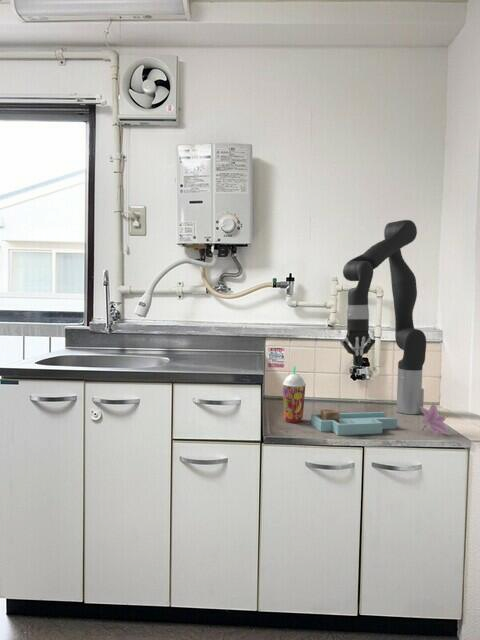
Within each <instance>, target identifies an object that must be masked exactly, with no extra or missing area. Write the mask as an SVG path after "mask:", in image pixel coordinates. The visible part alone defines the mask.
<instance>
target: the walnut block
mask: <svg viewBox="0 0 480 640" xmlns="http://www.w3.org/2000/svg"><path fill="white" fill-rule="evenodd" d="M339 413H340V412H339V411H338V410H336V409H331V408H330V409H320V414H321V415H320V419H321V420H323V421H326V420H334V421H336V422H337V423H339Z"/></svg>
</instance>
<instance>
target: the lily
mask: <svg viewBox="0 0 480 640" xmlns="http://www.w3.org/2000/svg"><path fill="white" fill-rule="evenodd" d="M420 408H421V410H422V412H423V413H422V414H423V415H424V416H423V417H422V419H421V420H420V424H422V425H424V427H423V428H422V431H424V430H425V428H426V427H427V426H428V427H430V430H431V432H432V436H433V438H436V436H437V434H438V431H440V432H442V433H443V434H445V435H447V436H450V435H451V434H450V432H449V430H448V428H447V426H446V425H445V423H444V422H445V421H446V419H447V418H446V417H445V416H443V415H441V414H439V410H438V407H437V405H436V404H435V402H434V401H432V403H431V405H430V407H429V409H427V408H425V407H424V406H423V407H421V406H420Z"/></svg>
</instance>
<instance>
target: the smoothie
mask: <svg viewBox="0 0 480 640" xmlns="http://www.w3.org/2000/svg"><path fill="white" fill-rule="evenodd" d="M305 382H306V381H305V380H304V379H303V377H302V376H300V375H299V374H297V373H296V366H295V365H294V366H293V373H291V374H289V375H287V376H286V377H285V378H284V381H283V382H282V401H283V418H284V421H285V422H286V423H292V424H297V423H301V422H302V420H303V419H304V418H303V417H304V409H305V407H304V406H305V398H306V397H305V394H306V385H307V384H306V383H305Z"/></svg>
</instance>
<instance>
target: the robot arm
mask: <svg viewBox="0 0 480 640" xmlns="http://www.w3.org/2000/svg"><path fill="white" fill-rule="evenodd" d="M383 233H384V234H383V235H384V239H383V240H381V241H379V242H377V243H375V244H374V245H372V246H370V247H369V248H368V249H367V250H366V251H365V252H363V253H362V254H360V255H358V256H356V257H354V258H352V259H350V260H348V261H347V262H346V263H345V265H344V267H343V269H342V274H343V278H345V280H346V281H349V282H357V285H356V286H355V287H352V288H349V290H348V291H347V292H348V293H347V310H346V316H347V317H346V323H347V324H346V331H347V333H346V336H345V338H344V339H341V340H340V344H341V345H342V346H343V348H344V349H345V350H346V351H347V353H348V354H349V355H352V357H353V359H352V360H353V365H354V366H355V367H361V366H362V365H363V357H364V355H365V354H369V353H368V352H369V351H370V350H371V349H372V347H373V346H374V345H375V343H376V340H375V339H373V338H372V337H371V336H370V333H369V330H370V329H369V327H370V326H369V325H370V323H369V322H370V320H369V319H370V313H369V312H370V311H369V292H370V289H371V283H372V282H373V281H372V280H373V277H374V270H376V268H378V267H379V266H380V265H381V264H382V263H383V262H385V260H387V259H388V262H389V270H390V272H389V273H390V280H391V281H390V283H391V291H392V298H393V309H394V321H395V323H394V324H395V325H394V326H395V328H394V329H395V330H394V331H395V333H394V335H395V336H394V337H395V344H396V345H397V347H398V348H399V349H400V350H403V357H402V358H401V359H400V360H399V361H398V362H397V384H396V385H397V387H396V406H395V407H396V413H397V412H398V413H400V414H405V415H419V414H424V413H423V412H422V410H421V408H420V406H421V407H423V408H424V396H425V389H424V388H422V387H423V369H424V368H423V366H424V364H425V362H426V352H427V337H426V334H425V333H424V331H422V330H421V329H418V328H415V326H414V315H413V314H414V309H415V305H416V302H417V297H418V290H417V289H418V287H417V280H416V279H417V278H416V276H415V274H414V272H413V271H412V269H411V268H410V266H409V265H408V264H407V263H406V261H405V259H404V258H403V255H402V250H401V249H402V248H404V247H406V246H407V245H409V244H411V243H413V242H414V240H416V237H417V235H418V230H417V226H416V224H415V222H414V221H413V220H411V219H402V220H397V221H391V222H387V224H386V225H385V227H384V230H383ZM349 343H350V345H351V346H350V345H349Z"/></svg>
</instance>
